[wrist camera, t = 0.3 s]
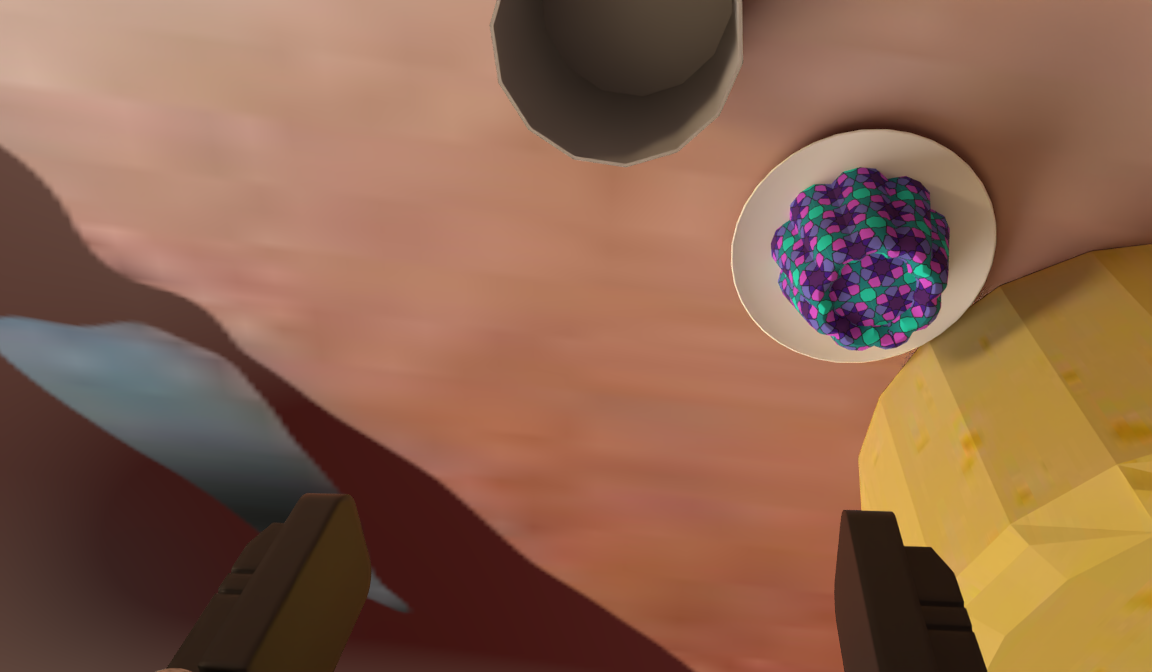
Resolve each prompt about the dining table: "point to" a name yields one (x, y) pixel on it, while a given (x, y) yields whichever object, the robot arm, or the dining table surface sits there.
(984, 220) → the pudding
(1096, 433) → the cheese
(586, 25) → the cup
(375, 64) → the dining table surface
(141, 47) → the dining table surface
